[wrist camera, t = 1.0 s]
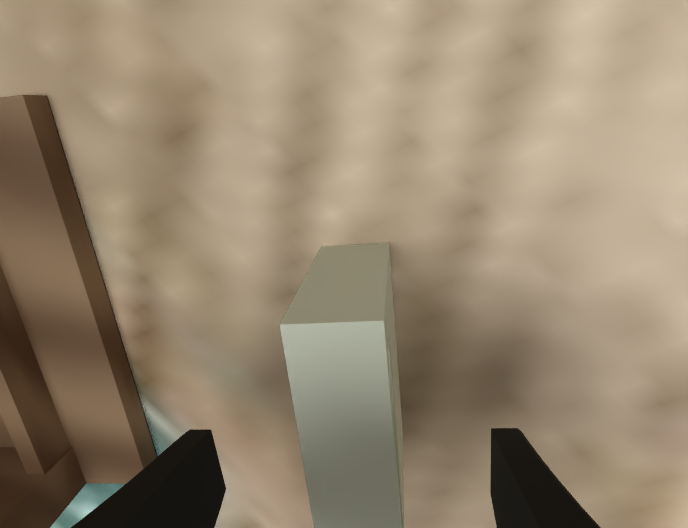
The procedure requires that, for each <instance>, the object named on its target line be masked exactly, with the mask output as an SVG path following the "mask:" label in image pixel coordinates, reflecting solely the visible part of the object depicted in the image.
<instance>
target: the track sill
mask: <svg viewBox="0 0 688 528" xmlns="http://www.w3.org/2000/svg"><path fill="white" fill-rule="evenodd" d="M156 458H157V455H156V452H155V449H154V446H153V442H152V439H151V436H150V433H149V429H148V426H147V423H146V420H145V416H144V413H143V410H142V406H141V403H140V400H139V397H138V393H137V390H136V387H135V384H134V380H133V377H132V374H131V371H130V367H129V364H128V361H127V357H126V354H125V351H124V348H123V344H122V341H121V338H120V335H119V331H118V328H117V325H116V322H115V318H114V315H113V312H112V309H111V305H110V302H109V299H108V295H107V292H106V289H105V286H104V282H103V279H102V276H101V273H100V269H99V266H98V263H97V260H96V256H95V253H94V250H93V247H92V243H91V240H90V237H89V233H88V230H87V227H86V224H85V220H84V217H83V214H82V211H81V207H80V204H79V201H78V198H77V194H76V191H75V188H74V184H73V181H72V178H71V175H70V171H69V168H68V165H67V162H66V158H65V155H64V152H63V149H62V145H61V142H60V139H59V136H58V132H57V129H56V126H55V122H54V119H53V116H52V113H51V109H50V106H49V103H48V100H47V96H42V95H19V96H11V97H3V98H0V528H50V527H51V525H52V524H53V523H54V522H55V521H56V519H57V518H58V517H59V516H60V514H61V513H62V512H63V511H64V510H65V508H66V507H67V506H68V505H69V504H70V502H71V501H72V500H73V499H74V497H75V496H76V495H77V494H78V493H79V491H80V490H81V489H82V488H83V487H84V485H85V484H86V483H120V484H126V483H128V482H129V481H130V480H131V479H132V478H133V477H135V476H136V475H137V474H138V473H139V472H140V471H142V470H143V469H144V468H145V467H146V466H147V465H149V464H150V463H151V462H152V461H153V460H154V459H156Z"/></svg>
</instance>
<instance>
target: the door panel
mask: <svg viewBox="0 0 688 528" xmlns="http://www.w3.org/2000/svg"><path fill="white" fill-rule="evenodd" d="M280 330H281V336H282V342H283V348H284V354H285V359H286V365H287V371H288V377H289V383H290V389H291V395H292V401H293V407H294V412H295V418H296V424H297V430H298V436H299V442H300V448H301V454H302V460H303V466H304V471H305V477H306V483H307V489H308V495H309V501H310V507H311V513H312V519H313V524H314V528H404V493H403V427H402V413H401V400H400V386H399V372H398V358H397V345H396V331H395V317H394V303H393V289H392V276H391V262H390V248H389V242H385V243H369V244H354V245H339V246H324V247H321V249H320V251H319V253H318V254H317V256H316V258H315V260H314V262H313V264H312V266H311V267H310V269H309V271H308V273H307V275H306V277H305V279H304V280H303V282H302V284H301V286H300V288H299V290H298V292H297V293H296V295H295V297H294V299H293V301H292V303H291V304H290V306H289V308H288V310H287V312H286V314H285V316H284V317H283V319H282V321H281V323H280Z"/></svg>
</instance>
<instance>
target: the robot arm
mask: <svg viewBox="0 0 688 528" xmlns="http://www.w3.org/2000/svg"><path fill="white" fill-rule="evenodd" d="M225 490H226V487H225V483H224V479H223V475H222V471H221V467H220V463H219V459H218V455H217V451H216V447H215V443H214V439H213V436H212V432H211V430H189V431H187V432H186V433H185V434H184V435H182V436H181V437H180V438H179V439H178V440H176V441H175V442H174V443H173V444H172V445H171V446H169V447H168V448H167V449H166V450H165V451H164V452H162V453H161V454H160V455H159V456H158V457H157V458H156V459H154V460H153V461H152V462H151V463H150V464H149V465H147V466H146V467H145V468H144V469H143V470H142V471H140V472H139V473H138V474H137V475H136V476H135V477H133V478H132V479H131V480H130V481H129V482H128V483H126V484H125V485H124V486H123V487H122V488H120V489H119V490H118V491H117V492H116V493H114V494H113V495H112V496H111V497H109V498H108V499H107V500H106V501H104V502H103V503H102V504H101V505H99V506H98V507H97V508H95V509H94V510H93V511H92V512H90V513H89V514H88V515H87V516H85V517H84V518H83V519H82V520H80V521H79V522H78V523H76V524H75V525H74V526H73V527H71V528H214V527H215V524H216V520H217V517H218V514H219V511H220V508H221V504H222V501H223V497H224V494H225ZM491 498H492V503H493V509H494V514H495V520H496V525H497V528H600V526H599V525H598V524H597V523H596V522H595V521H594V520H593V519H592V518H591V517H590V516H589V515H588V513H587V512H586V511H585V510H584V509H583V508H582V507H581V506H580V504H579V503H578V502H577V501H576V500H575V499H574V497H573V496H572V495H571V494H570V493H569V492H568V491H567V489H566V488H565V487H564V486H563V485H562V484H561V482H560V481H559V480H558V479H557V477H556V476H555V475H554V474H553V473H552V471H551V470H550V469H549V467H548V466H547V465H546V464H545V462H544V461H543V460H542V459H541V457H540V456H539V455H538V453H537V452H536V451H535V449H534V448H533V447H532V445H531V444H530V443H529V441H528V440H527V439H526V437H525V436H524V434H523V433H522V432H521V431H520V430H519V429H518V428H491Z"/></svg>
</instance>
